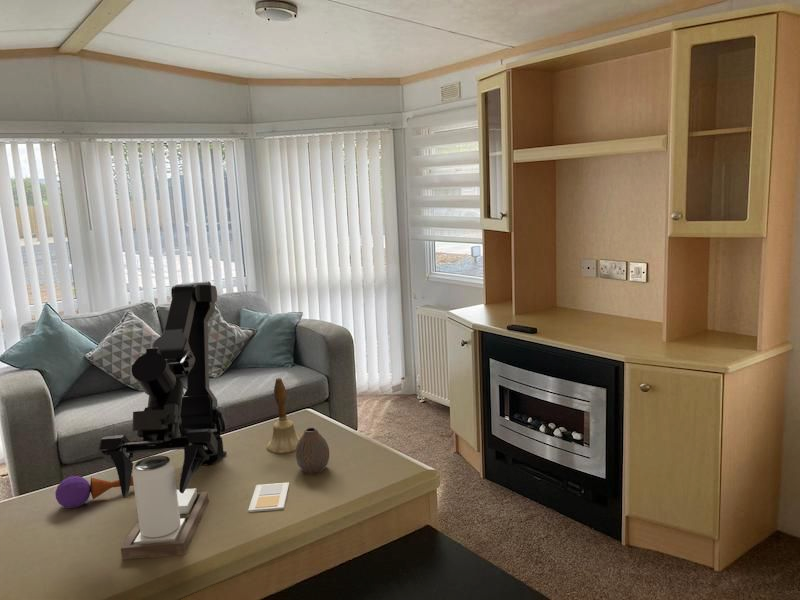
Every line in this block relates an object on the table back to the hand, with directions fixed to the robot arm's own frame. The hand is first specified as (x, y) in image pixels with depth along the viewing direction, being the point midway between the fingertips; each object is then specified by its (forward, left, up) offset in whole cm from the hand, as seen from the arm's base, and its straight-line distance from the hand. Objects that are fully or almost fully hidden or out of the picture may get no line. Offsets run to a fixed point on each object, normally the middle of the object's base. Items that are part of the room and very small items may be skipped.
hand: (153, 494), depth 107 cm
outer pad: (0, +1, -8) cm, 9 cm away
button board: (-2, +5, -9) cm, 11 cm away
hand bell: (+1, +42, -9) cm, 43 cm away
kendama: (-21, +14, -10) cm, 27 cm away
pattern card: (+10, +19, -9) cm, 23 cm away
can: (-1, +1, -7) cm, 7 cm away
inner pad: (-4, +9, -7) cm, 12 cm away
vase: (+13, +32, -9) cm, 36 cm away
